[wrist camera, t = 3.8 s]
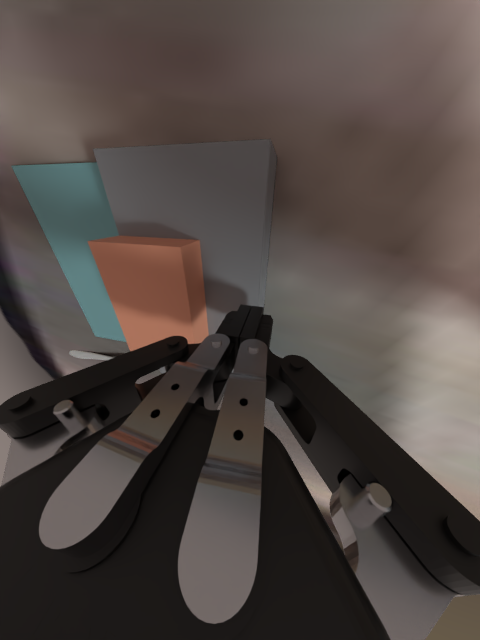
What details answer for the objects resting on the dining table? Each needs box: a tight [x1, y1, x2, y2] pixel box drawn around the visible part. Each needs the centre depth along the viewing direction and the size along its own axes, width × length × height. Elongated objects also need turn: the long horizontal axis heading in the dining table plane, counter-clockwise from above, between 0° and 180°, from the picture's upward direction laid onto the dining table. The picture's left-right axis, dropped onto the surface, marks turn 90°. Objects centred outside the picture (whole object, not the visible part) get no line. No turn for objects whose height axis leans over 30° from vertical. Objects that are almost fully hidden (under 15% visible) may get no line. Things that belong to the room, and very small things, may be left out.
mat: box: [12, 162, 127, 342], centre depth 20 cm, size 12×18×1 cm, turn 179°
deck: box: [93, 139, 277, 373], centre depth 16 cm, size 10×18×4 cm, turn 179°
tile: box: [87, 236, 209, 351], centre depth 14 cm, size 6×9×2 cm, turn 179°
